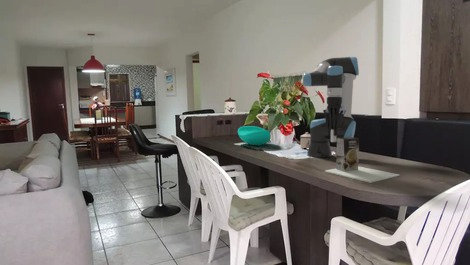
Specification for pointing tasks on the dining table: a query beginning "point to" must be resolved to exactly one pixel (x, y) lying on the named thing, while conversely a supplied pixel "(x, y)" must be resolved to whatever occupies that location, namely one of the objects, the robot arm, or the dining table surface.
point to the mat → (364, 174)
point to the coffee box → (347, 154)
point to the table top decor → (254, 135)
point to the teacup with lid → (305, 140)
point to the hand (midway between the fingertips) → (333, 141)
